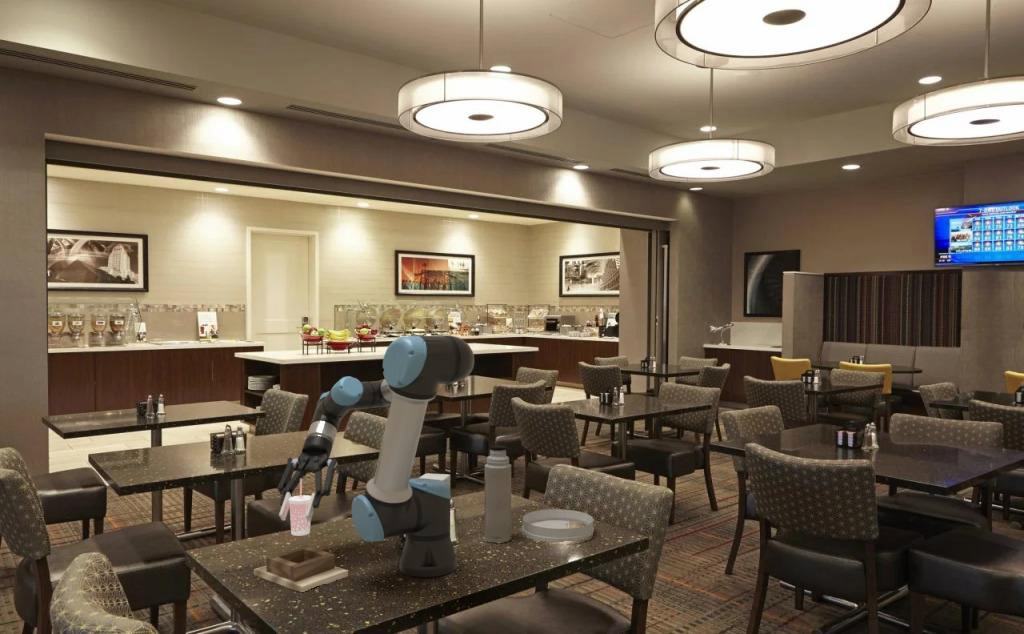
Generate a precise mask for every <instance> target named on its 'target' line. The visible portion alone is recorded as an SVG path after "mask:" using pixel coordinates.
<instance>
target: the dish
mask: <svg viewBox="0 0 1024 634" xmlns="http://www.w3.org/2000/svg"><path fill="white" fill-rule="evenodd" d="M569 521H575V522H580V523H584V524H586V526H582V527H578V528H569V527H570V526H569ZM567 523H568V525H565V524H567ZM567 526H568V527H567ZM566 528H567V529H566ZM521 529H522V530H521V533H522V532H523V534H524V535H526V536H527V537H529V538H531V539H535V540H539V541H546V542H564V541H575V540H579V539H584V538H586V537H589V536H591V535H592V534H593V532H594V533H595V527H594V518H593V516H592V515H590V514H589V513H586V512H582V511H577V510H574V509H572V510H570V509H560V508H552V509H551V508H550V509H539V510H535V511H530V512H528V513H526V514H525V515H523V517H522V526H521ZM523 534H522V535H523Z"/></svg>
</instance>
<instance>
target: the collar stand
mask: <svg viewBox="0 0 1024 634" xmlns="http://www.w3.org/2000/svg"><path fill="white" fill-rule="evenodd" d="M335 560H336V554H334V553H330V552H328V551H323V550H321V549H318V548H314V547H311V546H308V545H303V546H301V547H297V548H294V549H291V550H287V551H284V552H282V553H281V552H280V553H277V554H275V555H270V556H267V557H266V564H265V565H263V566H260V567H257V568H254V569H253V575H254V576H255V577H259V578H260V579H263V580H266V581H269V582H272V583H274V584H277V585H278V586H279V585H280V586H282V587H285V588H288V589H290V590H293V591H296V592H298V591H299V592H298V593H301V592H304V593H306V592H305V591H307V590H308V589H311V588H314V587H316V586H319V585H322V584H326V585H328V584H331V583H333V582H336V580H337V581H339V580H341V579H344V578H348V577H349V570H348V569H344V568H342V567H338V566H336V561H335ZM307 592H308V591H307Z"/></svg>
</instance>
